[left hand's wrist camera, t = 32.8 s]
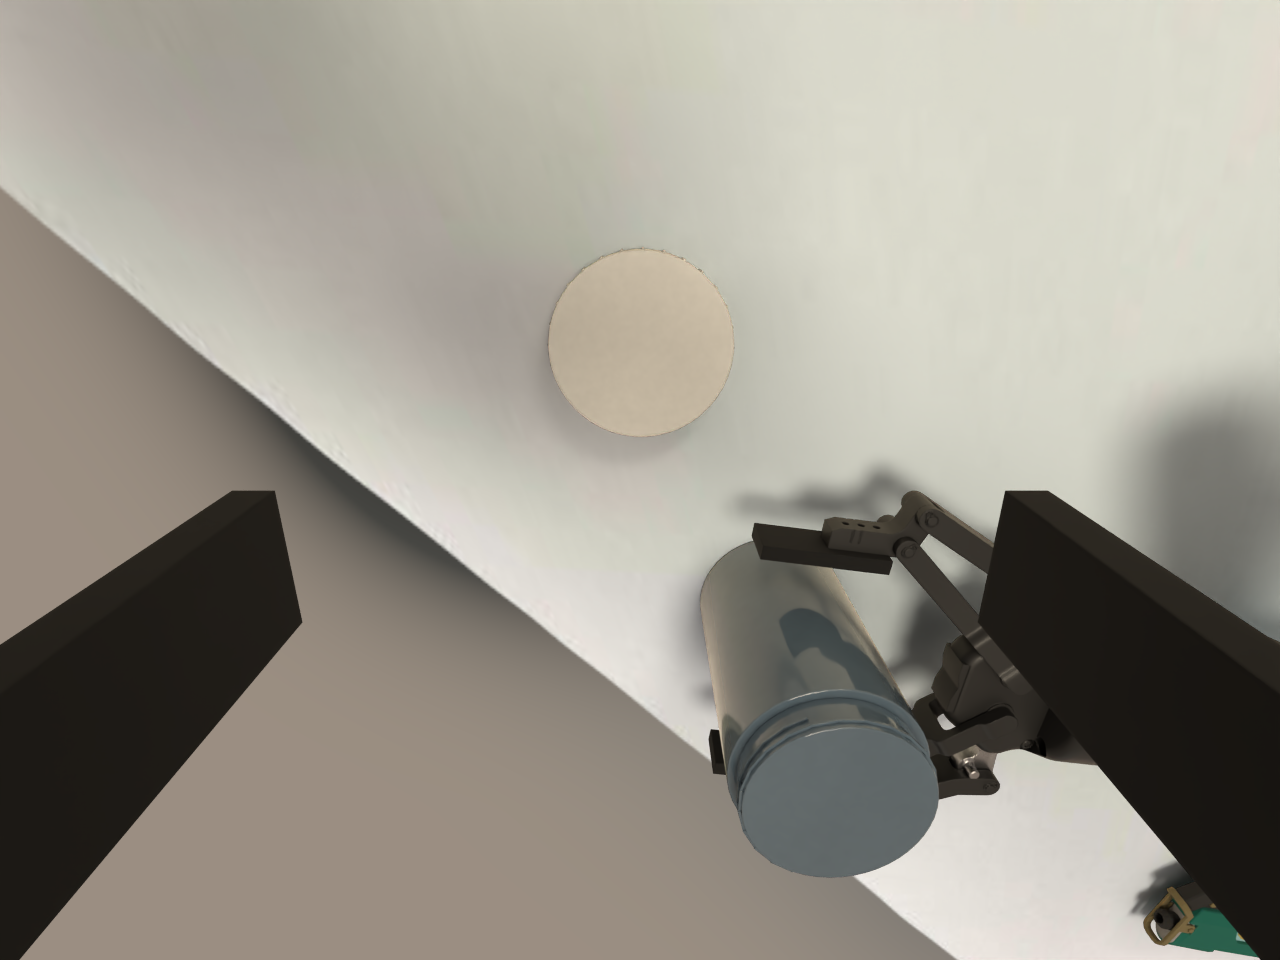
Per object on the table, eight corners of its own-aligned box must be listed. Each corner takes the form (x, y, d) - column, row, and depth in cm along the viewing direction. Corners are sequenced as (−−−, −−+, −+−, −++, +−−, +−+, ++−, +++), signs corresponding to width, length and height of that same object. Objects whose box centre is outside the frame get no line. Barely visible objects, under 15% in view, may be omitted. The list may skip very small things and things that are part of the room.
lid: (519, 367, 37) (512, 374, 35) (613, 208, 34) (612, 207, 33) (665, 458, 39) (666, 470, 37) (766, 315, 36) (773, 320, 34)
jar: (750, 513, 40) (816, 684, 25) (867, 579, 42) (994, 777, 27) (673, 621, 43) (691, 834, 28) (786, 680, 45) (860, 911, 30)
